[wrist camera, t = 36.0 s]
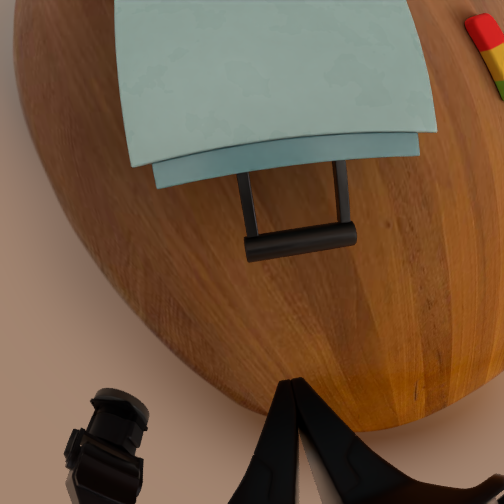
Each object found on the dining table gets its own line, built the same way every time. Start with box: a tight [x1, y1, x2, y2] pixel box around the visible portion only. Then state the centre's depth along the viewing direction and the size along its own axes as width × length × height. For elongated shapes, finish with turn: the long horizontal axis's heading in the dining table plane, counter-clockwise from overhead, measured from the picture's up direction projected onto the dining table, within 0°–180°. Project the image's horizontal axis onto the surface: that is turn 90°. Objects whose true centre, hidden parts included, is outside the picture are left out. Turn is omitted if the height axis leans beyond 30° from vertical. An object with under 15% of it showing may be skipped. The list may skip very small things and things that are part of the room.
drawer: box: [152, 132, 420, 263], centre depth 12 cm, size 20×13×6 cm, turn 9°
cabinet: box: [114, 0, 437, 168], centre depth 11 cm, size 16×14×8 cm
